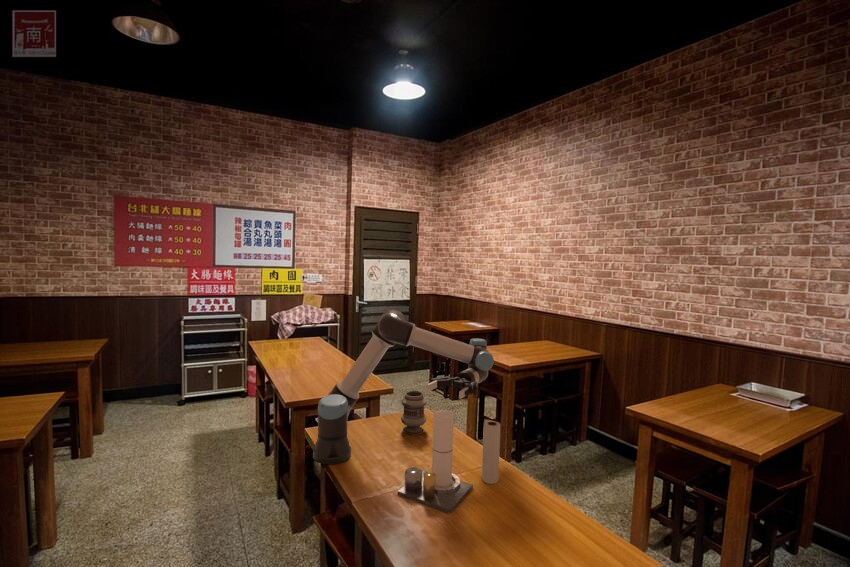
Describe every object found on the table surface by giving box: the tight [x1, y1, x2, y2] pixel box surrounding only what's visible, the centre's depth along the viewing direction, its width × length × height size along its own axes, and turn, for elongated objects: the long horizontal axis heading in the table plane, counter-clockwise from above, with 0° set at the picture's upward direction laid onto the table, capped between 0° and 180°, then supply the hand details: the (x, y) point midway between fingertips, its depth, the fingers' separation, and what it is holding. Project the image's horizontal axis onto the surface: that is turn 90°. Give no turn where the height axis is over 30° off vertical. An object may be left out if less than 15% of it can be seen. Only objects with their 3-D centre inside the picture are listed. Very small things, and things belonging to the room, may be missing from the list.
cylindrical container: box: [431, 409, 455, 488], centre depth 148 cm, size 7×7×25 cm
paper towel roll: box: [481, 418, 501, 485], centre depth 154 cm, size 7×6×21 cm
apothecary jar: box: [400, 390, 427, 436], centre depth 196 cm, size 12×12×18 cm
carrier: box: [397, 466, 474, 514], centre depth 146 cm, size 20×20×8 cm
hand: (443, 391), depth 157 cm, fingers open, 13 cm apart
